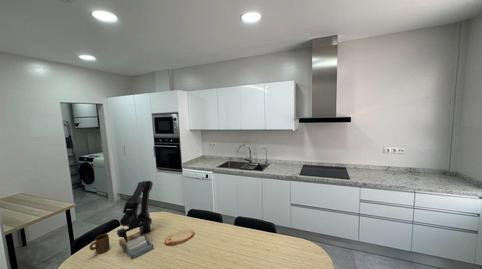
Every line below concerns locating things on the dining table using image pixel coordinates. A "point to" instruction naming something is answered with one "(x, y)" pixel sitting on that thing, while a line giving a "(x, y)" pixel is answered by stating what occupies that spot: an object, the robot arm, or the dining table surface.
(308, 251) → the dining table surface
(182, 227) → the dining table surface
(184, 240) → the slice of bread
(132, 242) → the tile
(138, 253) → the tray
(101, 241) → the mug
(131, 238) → the board
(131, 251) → the tile
